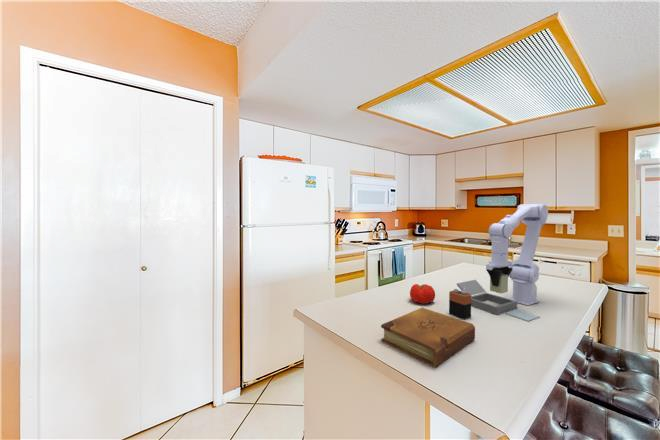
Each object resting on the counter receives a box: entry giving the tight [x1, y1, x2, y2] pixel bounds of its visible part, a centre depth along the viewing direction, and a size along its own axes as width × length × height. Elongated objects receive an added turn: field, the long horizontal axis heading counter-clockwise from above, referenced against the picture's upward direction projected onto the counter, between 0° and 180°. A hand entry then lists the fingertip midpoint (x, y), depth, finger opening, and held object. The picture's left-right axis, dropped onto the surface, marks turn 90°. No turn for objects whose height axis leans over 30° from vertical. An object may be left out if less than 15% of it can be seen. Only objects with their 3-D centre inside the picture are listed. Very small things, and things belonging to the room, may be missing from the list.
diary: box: [380, 307, 476, 368], centre depth 83 cm, size 23×19×6 cm
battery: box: [448, 288, 472, 320], centre depth 102 cm, size 4×7×10 cm, turn 28°
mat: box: [505, 308, 541, 322], centre depth 102 cm, size 8×8×1 cm
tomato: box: [409, 283, 436, 305], centre depth 118 cm, size 11×11×8 cm
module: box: [489, 273, 509, 294], centre depth 109 cm, size 4×4×8 cm
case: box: [456, 279, 518, 316], centre depth 114 cm, size 14×18×8 cm
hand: (499, 285), depth 109 cm, fingers closed on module, 4 cm apart
